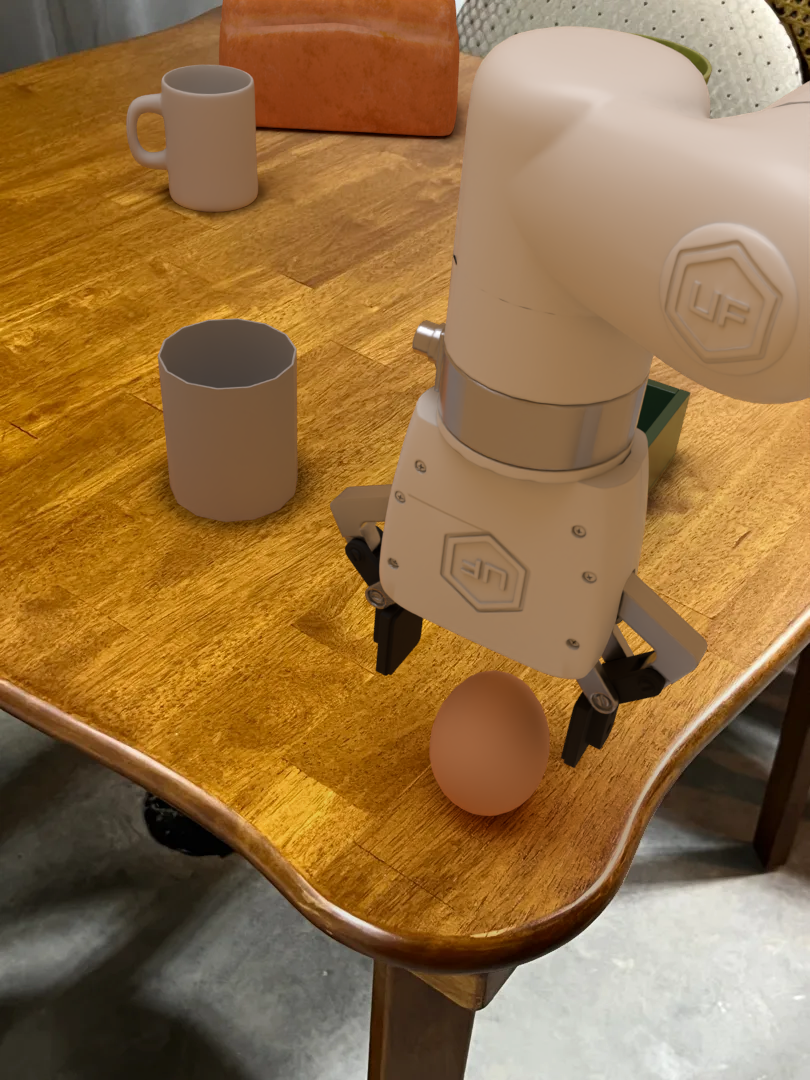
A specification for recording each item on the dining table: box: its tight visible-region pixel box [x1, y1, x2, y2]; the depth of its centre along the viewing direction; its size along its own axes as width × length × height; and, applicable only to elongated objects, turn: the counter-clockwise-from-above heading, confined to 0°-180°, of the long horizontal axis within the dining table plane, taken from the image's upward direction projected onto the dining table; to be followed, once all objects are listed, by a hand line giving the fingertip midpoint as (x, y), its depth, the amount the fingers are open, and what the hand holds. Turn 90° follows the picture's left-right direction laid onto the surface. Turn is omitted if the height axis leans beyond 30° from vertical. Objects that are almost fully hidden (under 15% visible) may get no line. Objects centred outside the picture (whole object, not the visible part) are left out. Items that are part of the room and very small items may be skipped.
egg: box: [429, 669, 551, 817], centre depth 55 cm, size 6×6×8 cm
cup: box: [157, 317, 299, 523], centre depth 74 cm, size 8×8×10 cm
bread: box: [218, 0, 460, 137], centre depth 126 cm, size 14×26×16 cm, turn 90°
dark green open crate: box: [636, 378, 691, 495], centre depth 78 cm, size 14×14×6 cm
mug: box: [125, 64, 259, 213], centre depth 109 cm, size 12×8×11 cm
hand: (486, 699), depth 54 cm, fingers open, 9 cm apart
